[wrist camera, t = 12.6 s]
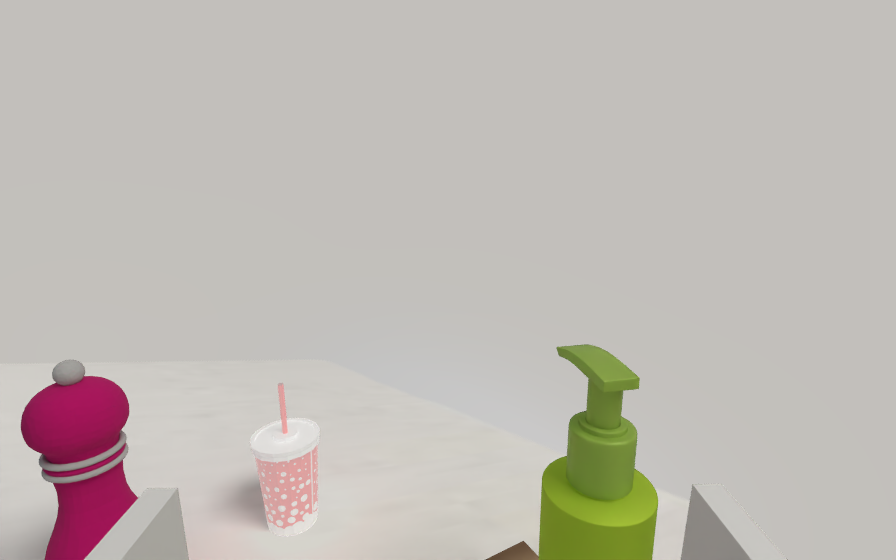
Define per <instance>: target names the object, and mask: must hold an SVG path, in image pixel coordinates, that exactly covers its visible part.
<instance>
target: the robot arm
mask: <svg viewBox="0 0 896 560" xmlns="http://www.w3.org/2000/svg"><path fill="white" fill-rule="evenodd" d="M84 560H189V557H188V551H187V544H186V538H185V531H184V525H183V518H182V512H181V505H180V499H179V493H178V488H147V489H146V490H145V491H144V492H143V493H142V495H141V496H140V497H139V498H138V499H137V500H136V501H135V502H134V504H133V505H132V506H131V507H130V508H129V509H128V510H127V512H126V513H125V514H124V515H123V516H122V517H121V518H120V519H119V521H118V522H117V523H116V524H115V525H114V526H113V527H112V528H111V530H110V531H109V532H108V533H107V534H106V535H105V536H104V538H103V539H102V540H101V541H100V542H99V543H98V544H97V545H96V547H95V548H94V549H93V550H92V551H91V552H90V553H89V555H88V556H87V557H86V558H85V559H84ZM681 560H788V559H787V558H786V557H785V556H784V555H783V554H782V553H781V551H780V550H779V549H778V548H777V547H776V546H775V544H774V543H773V542H772V541H771V540H770V539H769V538H768V536H767V535H766V534H765V533H764V532H763V531H762V530H761V528H760V527H759V526H758V525H757V524H756V523H755V522H754V520H753V519H752V518H751V517H750V516H749V515H748V514H747V512H746V511H745V510H744V509H743V508H742V507H741V506H740V504H739V503H738V502H737V501H736V500H735V499H734V498H733V496H732V495H731V494H730V493H729V492H728V491H727V490H726V488H725V487H724V486H723V485H722V484H693V485H692V491H691V497H690V503H689V510H688V516H687V523H686V529H685V536H684V542H683V548H682V555H681Z"/></svg>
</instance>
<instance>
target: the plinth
mask: <svg viewBox="0 0 896 560" xmlns="http://www.w3.org/2000/svg"><path fill="white" fill-rule="evenodd" d="M486 560H539V557H538V555H537V554H536V553H535V552H534V551H533V550H532V549H531V548H530V547H529V546H528V545H527V544H526V543H525V542H524V541H522V542H520V543H518V544H516V545H514V546H512V547H510V548H508V549H506V550H504V551H502V552H500V553H498V554H496V555H494V556H492V557H490V558H488V559H486Z"/></svg>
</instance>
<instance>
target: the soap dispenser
mask: <svg viewBox="0 0 896 560" xmlns="http://www.w3.org/2000/svg"><path fill="white" fill-rule="evenodd" d="M557 351H558V354H559V356H561V357H563V358H565V359H568V360H569V361H570V362H572V363H573V364H574V365H575V366H576V367H577V368H578V369H580V370H581V371H582V372H583V373H584V374H585V375H586V376H587V377H588V378H589V380H588V381H589V382H588V396H587V410H586V411H584V412H580V413H578V414H575V415H574V416H573V417H572V418H571V419H570V422H569V430H568V449H567V456H565V457H562V458H559V459H557V460H555V461H553V462H552V463H551V464H549V465H548V467H547V468H546V469H545V471H544V473H543V476H542V492H541V515H540V539H539V560H652V554H653V545H654V535H655V526H656V517H657V508H658V496H657V493H656V490H655V488H654V487H653V485H652V484H651V482H650V481H649V480H648V479H647V478H646V477H645V476H644V475H643V474H641V473H640V472H639V471H637V470H636V469H634V467H635V456H636V445H637V430H636V428H635V427H634V425H633V424H632V423H631V422H630V421H628V420H627V419H625V418H623V417H622V416H621V410H622V399H623V390H633V389H639V377H638V376H637V375H636V374H635V373H633V372H632V371H631V370H630V369H629V368H628V367H627V366H626V365H624V364H623V363H622V362H621V361H620V360H618V359H617V358H616V357H614V356H613V355H612V354H610V353H609V352H607V351H605V350H603V349H601V348H599V347H596V346H592V345H575V346H564V347H557Z"/></svg>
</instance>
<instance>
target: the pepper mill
mask: <svg viewBox="0 0 896 560" xmlns="http://www.w3.org/2000/svg"><path fill="white" fill-rule="evenodd" d="M84 375H85V368H84V366H83V365H82V364H81V363H80V362H79V361H76V360H65V361H63V362H60V363H59V364H57V365H56V366H55V368H54V369H53V372H52V376H53V379H54V381H55V382H56V383H55V384H52V385H50V386H48V387H46V388H45V389H43V390H42V391H40V392H39V393H37V394H36V395H35V396H34V397H33V398H32V399H31V400H30V402H29V403H28V404H27V406H26V407H25V410H24V412H23V414H22V420H21V431H22V435H23V438H24V440H25V442H26V444H27V445H28V446H29V447H30V448H32V449H33V450H35V451H37V452H39V453H42V455H41V456H40V458H39V465H40V466H41V467H42V477H43V478H44V479H45V480H46V481H48V482H52V483H53V484H54V487H55V489H56V491H57V496H58V504H59V507H58V516H57V519H56V523H55V527H54V530H53V533H52V535H51V538H50V541H49V544H48V547H47V551H46V556H45V560H84V559H85V558H86V557H87V556H88V555H89V553H90V552H91V551H92V550H93V549H94V548H95V547H96V545H97V544H98V543H99V542H100V541H101V540H102V539H103V538H104V536H105V535H106V534H107V533H108V532H109V531H110V530H111V528H112V527H113V526H114V525H115V524H116V523H117V522H118V521H119V519H120V518H121V517H122V516H123V515H124V514H125V513H126V512H127V510H128V509H129V508H130V507H131V506H132V505H133V504H134V502H135V501H136V500H137V499H138V497H137V496H136V495H135V494H134V493H133V492H132V491H131V489H130V487H129V486H128V484H127V482H126V478H125V474H124V470H123V459H124V458H125V456H126V455H127V453H128V445H127V444H126V434H125V433H124V432H123V431H121V429H122V428H123V427H124V425H125V423H126V421H127V419H128V416H129V403H128V400H127V397H126V395H125V393H124V392H123V390H122V389H121V388H120V387H119V386H118V385H117V384H115V383H114V382H112V381H110V380H108V379H105V378H102V377H95V376H84Z"/></svg>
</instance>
